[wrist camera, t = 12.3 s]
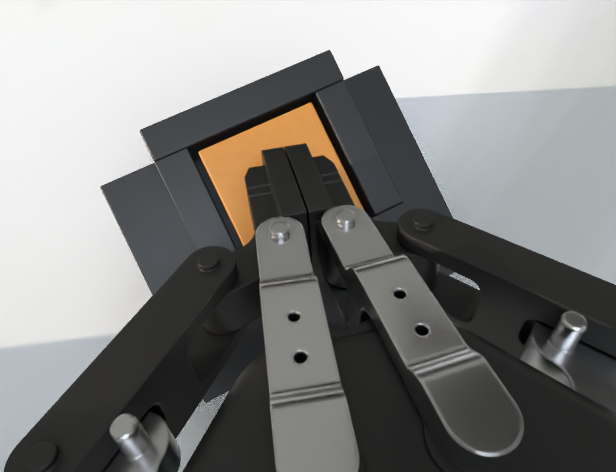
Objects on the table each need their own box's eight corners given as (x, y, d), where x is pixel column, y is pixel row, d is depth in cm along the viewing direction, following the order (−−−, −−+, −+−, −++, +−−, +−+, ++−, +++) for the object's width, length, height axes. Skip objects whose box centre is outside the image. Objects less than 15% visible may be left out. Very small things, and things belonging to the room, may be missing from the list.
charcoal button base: (213, 377, 21) (199, 422, 15) (121, 188, 21) (70, 158, 15) (435, 262, 23) (501, 261, 17) (350, 87, 23) (386, 24, 17)
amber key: (253, 266, 17) (253, 267, 15) (202, 163, 17) (197, 151, 15) (353, 218, 18) (365, 212, 16) (305, 118, 18) (311, 100, 16)
